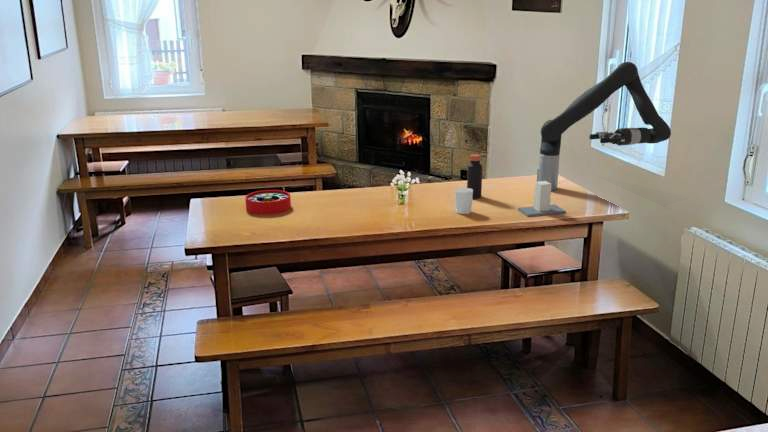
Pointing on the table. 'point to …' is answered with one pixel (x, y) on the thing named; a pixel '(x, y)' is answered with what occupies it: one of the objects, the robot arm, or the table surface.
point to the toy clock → (268, 202)
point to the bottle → (475, 175)
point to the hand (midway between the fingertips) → (595, 138)
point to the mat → (533, 212)
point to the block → (542, 196)
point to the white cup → (463, 200)
